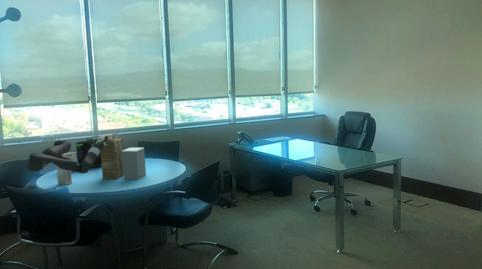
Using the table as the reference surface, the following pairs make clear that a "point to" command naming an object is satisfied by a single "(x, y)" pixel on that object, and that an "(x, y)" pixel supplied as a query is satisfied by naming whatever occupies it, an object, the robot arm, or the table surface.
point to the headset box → (86, 152)
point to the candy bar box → (71, 156)
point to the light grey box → (133, 163)
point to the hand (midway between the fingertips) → (104, 136)
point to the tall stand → (112, 159)
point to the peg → (110, 136)
